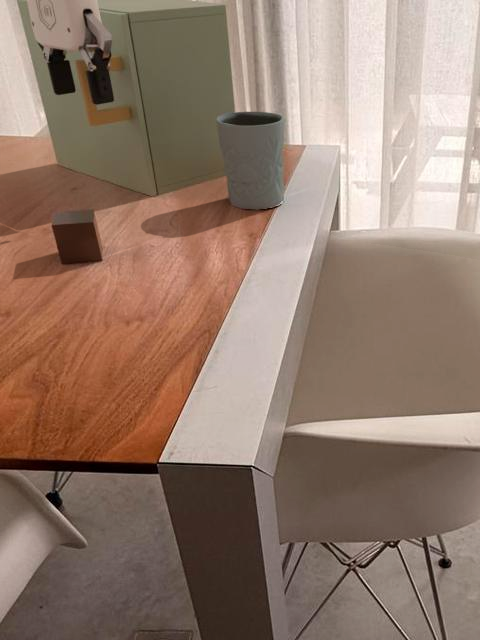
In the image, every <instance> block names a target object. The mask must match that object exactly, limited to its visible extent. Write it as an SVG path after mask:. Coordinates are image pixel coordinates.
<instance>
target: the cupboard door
mask: <svg viewBox="0 0 480 640" xmlns="http://www.w3.org/2000/svg"><path fill="white" fill-rule="evenodd" d="M16 3H17V7H18V10H19V14H20V19H21V23H22V27H23V31H24V35H25V39H26V42H27V43H26V44H27V46H28V49H29V50H28V51H29V55H30V60H31V63H32V67H33V72H34V76H35V79H36V83H37V87H38V91H39V95H40V99H41V104H42V107H43V111H44V115H45V120H46V123H47V127H48V132H49V136H50V139H51V142H52V148H53V153H54V155H55V159H56V160H55V161H56V163H57V164H56V165H57V166H60V167H63V168H66V169H69V170H72V171H74V172H77V173H81V174H83V175H86V176H89V177H92V178H96V179H98V180H101V181H104V182H107V183H110V184H113V185H116V186H119V187H121V188H125V189H128V190H131V191H134V192H137V193H139V194H143V195H145V196H149V197H151V198H152V197H157V196H158V195H157V192H156V186H155V180H154V174H153V168H152V162H151V156H150V150H149V144H148V138H147V132H146V126H145V120H144V114H143V108H142V102H141V96H140V90H139V84H138V78H137V72H136V66H135V60H134V54H133V48H132V42H131V35H130V29H129V23H128V17H127V14H125V13H118V12H111V11H104V10H99V12H100V17H101V22H102V25H103V26H104V27H105V28H106V29H107V30H108V31H109V33H110V34H111V35H112V45H111V58H110V61H109V62H110V69H109V74H110V79H111V85H112V90H113V95H114V101H113V102H110V103H104V104H98V105H96V104H93V102H92V98H91V94H90V89H89V84H88V79H87V74H86V71H88V70H89V68H88V66H87V65H86V63H85V61H84V59H83V57H82V55H81V53H80V52H79V50H77V51H67V52H66V58H65V60H69V61H70V66H71V71H72V75H73V80H74V84H75V89H76V91H75V92H74V93H69V94H63V95H56V94H55V93H54V90H53V86H52V82H51V78H50V73H49V69H48V65H47V62H46V61H45V60H44V57H43V51H42V49H41V48H40V46H39V45H38V42H37V40H36V39H35V36H34V32H33V29H32V27H31V18H30V14H29V9H28V4H27V0H16ZM89 53H90V54H91V56H92V58H93V55H94V52H89Z"/></svg>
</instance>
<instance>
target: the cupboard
mask: <svg viewBox="0 0 480 640" xmlns="http://www.w3.org/2000/svg"><path fill="white" fill-rule="evenodd" d="M97 4H98V8H99V10H104V11H111V12H118V13H125V14H127V17H128V23H129V29H130V35H131V42H132V48H133V54H134V60H135V66H136V72H137V78H138V84H139V90H140V96H141V102H142V108H143V114H144V120H145V126H146V132H147V138H148V144H149V150H150V156H151V162H152V168H153V174H154V180H155V186H156V192H157V195H156V196H163V195H164V194H169V193H173V192H175V191H179V190H182V189H186V188H189V187H193V186H196V185H199V184H203V183H207V182H211V181H214V180H217V179H221V178H224V177H226V171H225V168H224V159H223V155H222V151H221V146H220V140H219V134H218V129H217V123H216V118H217V117H219V116H221V115H224V114H228V113H235V112H236V107H235V97H234V96H235V95H234V85H233V74H232V61H231V50H230V37H229V27H228V17H227V5H226V4H225V3H216V2H208V1H199V0H97Z"/></svg>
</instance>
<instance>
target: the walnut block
mask: <svg viewBox="0 0 480 640" xmlns="http://www.w3.org/2000/svg"><path fill="white" fill-rule="evenodd" d="M96 217H97V216H96V212H95V209H94V208H93V209H79V210H68V211H67V210H66V211H53V213H52V220H51V229H52V233H53V237H54V240H55V244H56V248H57V251H58V255H59V259H60V263H61V265H69V264H79V263H92V262H103V243H102V239H101V235H100V230H99V226H98V221H97V218H96Z"/></svg>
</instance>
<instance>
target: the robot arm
mask: <svg viewBox="0 0 480 640" xmlns="http://www.w3.org/2000/svg"><path fill="white" fill-rule="evenodd" d="M27 4H28V9H29V14H30V18H31V27H32V29H33V32H34V36H35V39H36V40H37V42H38V45H39V46H40V48H41V49H42V51H43V57H44V60H45V61H46V62H47V65H48V69H49V73H50V78H51V82H52V86H53V90H54V93H55V94H56V95H63V94H69V93H74V92H75V91H76V89H75V84H74V80H73V75H72V71H71V66H70V61H69V60H65V58H66V52H67V51H77V50H79V52H80V53H81V55H82V57H83V59H84V61H85V63H86V65H87V66H88V68H89V70H88V71H86V74H87V79H88V84H89V89H90V94H91V98H92V102H93V104H96V105H98V104H104V103H110V102H113V101H114V95H113V90H112V85H111V79H110V74H109V69H110V62H109V61H110V58H111V45H112V35H111V34H110V33H109V31H108V30H107V29H106V28H105V27H104V26H103V25H102V22H101V17H100V12H99V8H98V4H97V0H27ZM89 52H94V55H93V58H92V56H91V54H90V53H89Z"/></svg>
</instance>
